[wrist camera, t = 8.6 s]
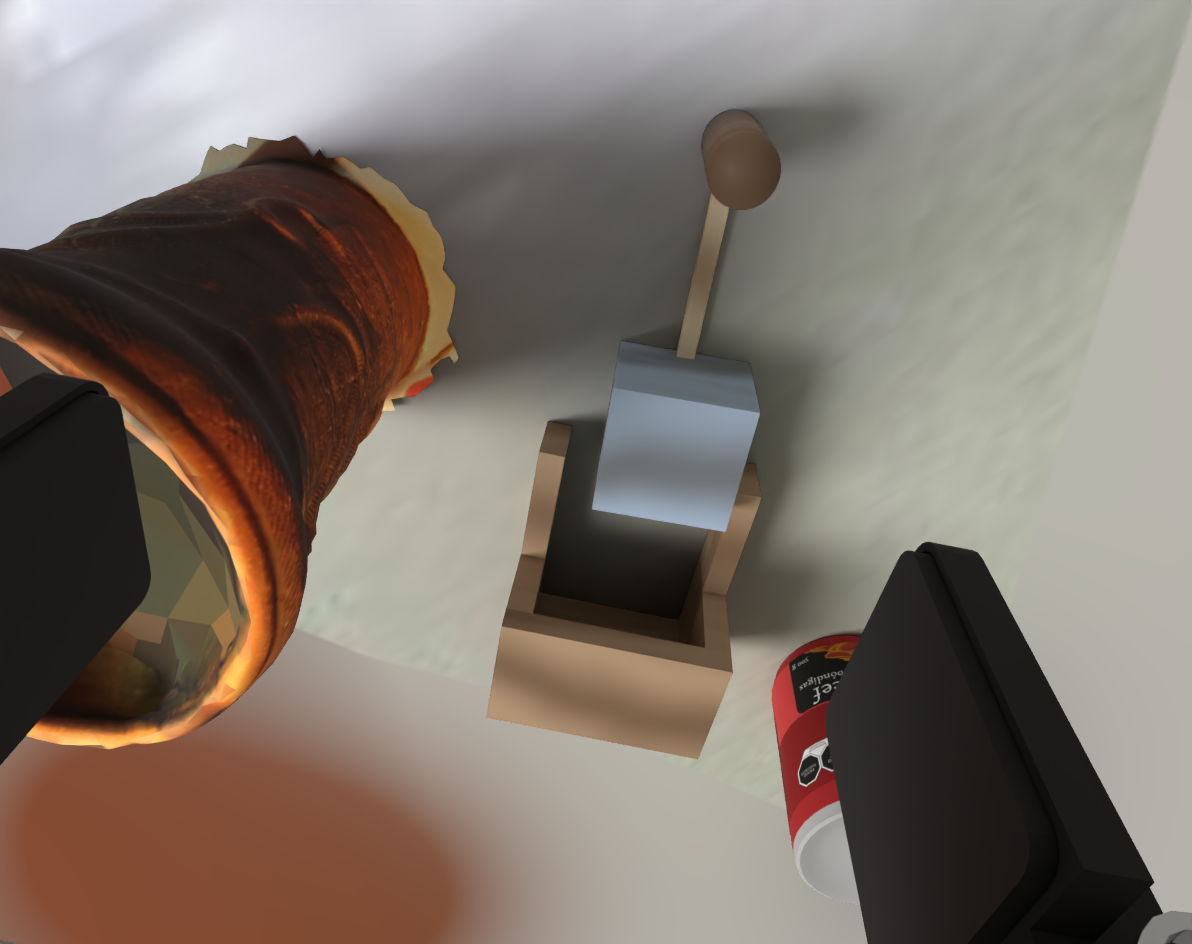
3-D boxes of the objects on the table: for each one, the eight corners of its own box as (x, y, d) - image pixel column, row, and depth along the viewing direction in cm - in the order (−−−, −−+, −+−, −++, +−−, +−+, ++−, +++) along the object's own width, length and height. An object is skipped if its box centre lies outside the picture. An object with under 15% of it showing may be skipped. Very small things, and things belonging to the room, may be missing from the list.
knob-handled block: (663, 96, 30) (660, 117, 25) (815, 123, 30) (844, 149, 25) (600, 452, 39) (589, 522, 34) (719, 473, 39) (726, 545, 34)
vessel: (343, 488, 41) (97, 826, 24) (106, 287, 37) (-406, 524, 19) (534, 314, 35) (391, 595, 18) (280, 50, 31) (-232, 89, 14)
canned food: (925, 640, 43) (994, 817, 34) (882, 736, 47) (934, 918, 38) (787, 621, 43) (819, 793, 34) (757, 719, 48) (778, 896, 38)
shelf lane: (548, 421, 38) (520, 516, 31) (755, 464, 38) (774, 568, 31) (515, 604, 44) (486, 717, 37) (694, 639, 45) (698, 759, 38)
